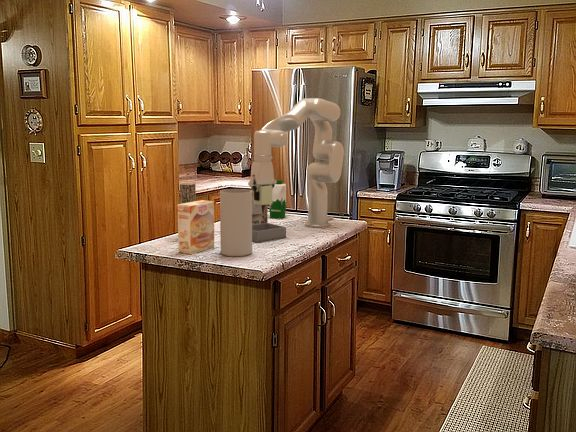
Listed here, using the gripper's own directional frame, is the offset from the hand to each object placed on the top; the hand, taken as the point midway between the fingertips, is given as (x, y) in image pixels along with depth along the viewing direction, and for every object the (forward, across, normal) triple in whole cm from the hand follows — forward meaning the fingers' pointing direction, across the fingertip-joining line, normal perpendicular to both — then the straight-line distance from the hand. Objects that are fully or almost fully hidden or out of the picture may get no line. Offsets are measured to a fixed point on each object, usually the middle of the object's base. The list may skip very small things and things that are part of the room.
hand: (262, 199), depth 253 cm
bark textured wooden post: (+18, +26, -20) cm, 37 cm away
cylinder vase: (+18, +26, +16) cm, 35 cm away
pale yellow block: (+2, 0, 0) cm, 2 cm away
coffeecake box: (+18, +35, +1) cm, 39 cm away
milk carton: (+18, -39, -36) cm, 56 cm away
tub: (+17, 0, 0) cm, 17 cm away
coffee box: (+18, -14, -20) cm, 30 cm away
